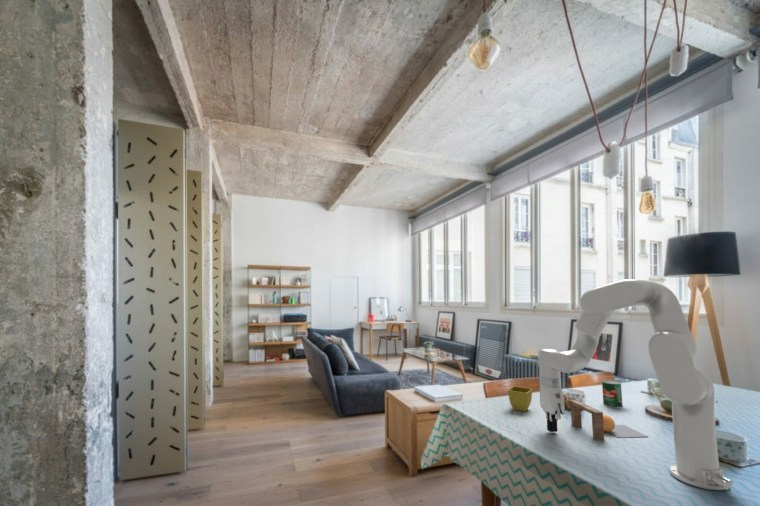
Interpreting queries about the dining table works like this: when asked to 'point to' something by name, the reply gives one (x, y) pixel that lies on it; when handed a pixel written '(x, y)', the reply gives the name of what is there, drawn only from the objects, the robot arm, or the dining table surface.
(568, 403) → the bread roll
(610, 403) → the canned tomato
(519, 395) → the flower pot
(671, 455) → the dining table surface
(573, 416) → the bridge
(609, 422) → the ball
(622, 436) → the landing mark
